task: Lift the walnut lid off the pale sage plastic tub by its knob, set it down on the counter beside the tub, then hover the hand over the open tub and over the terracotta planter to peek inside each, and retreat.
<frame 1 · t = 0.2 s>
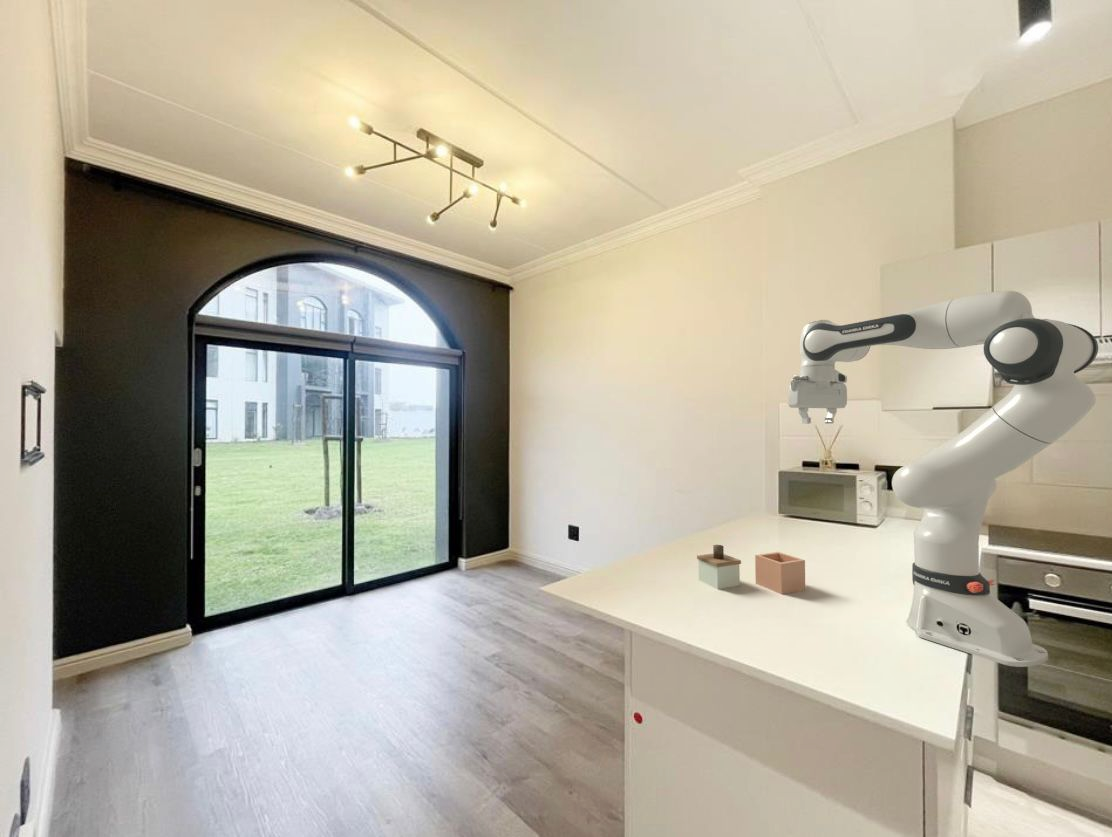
hand: (818, 423, 130), 47 cm above the countertop, fingers open, 8 cm apart
tub: (718, 585, 129), on the countertop
planter: (780, 589, 126), on the countertop
lid: (718, 561, 129), point 7 cm above the countertop, touching tub
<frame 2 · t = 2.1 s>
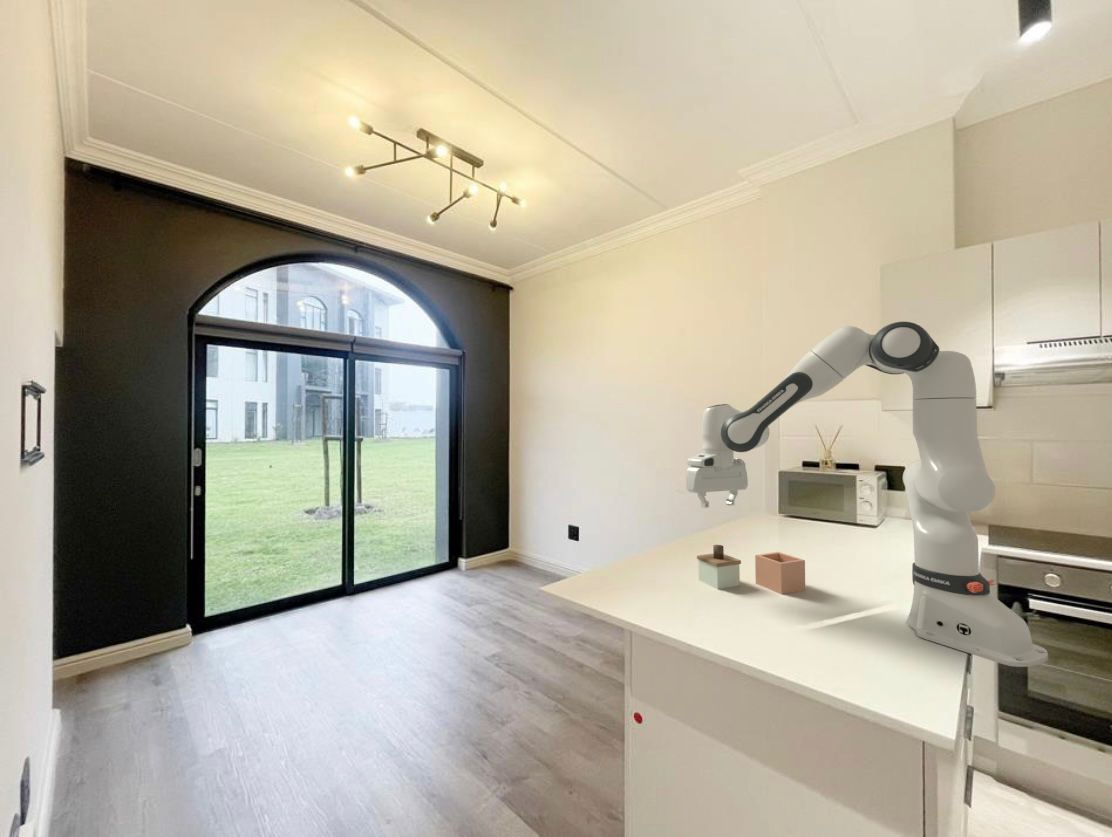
hand: (717, 506, 130), 23 cm above the countertop, fingers open, 8 cm apart
nothing on the countertop moved.
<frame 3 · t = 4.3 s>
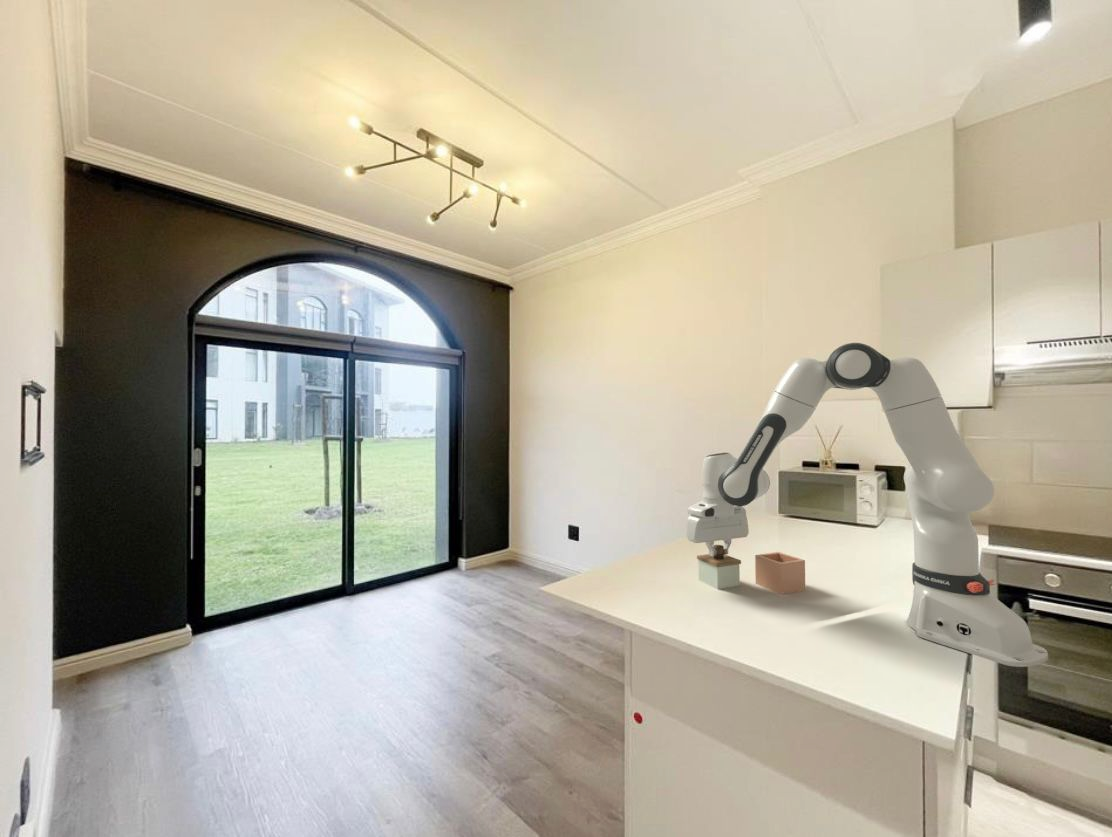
hand: (718, 554, 129), 9 cm above the countertop, fingers closed on lid, 3 cm apart
lid: (718, 561, 129), point 7 cm above the countertop, touching gripper, tub
everything else where it was.
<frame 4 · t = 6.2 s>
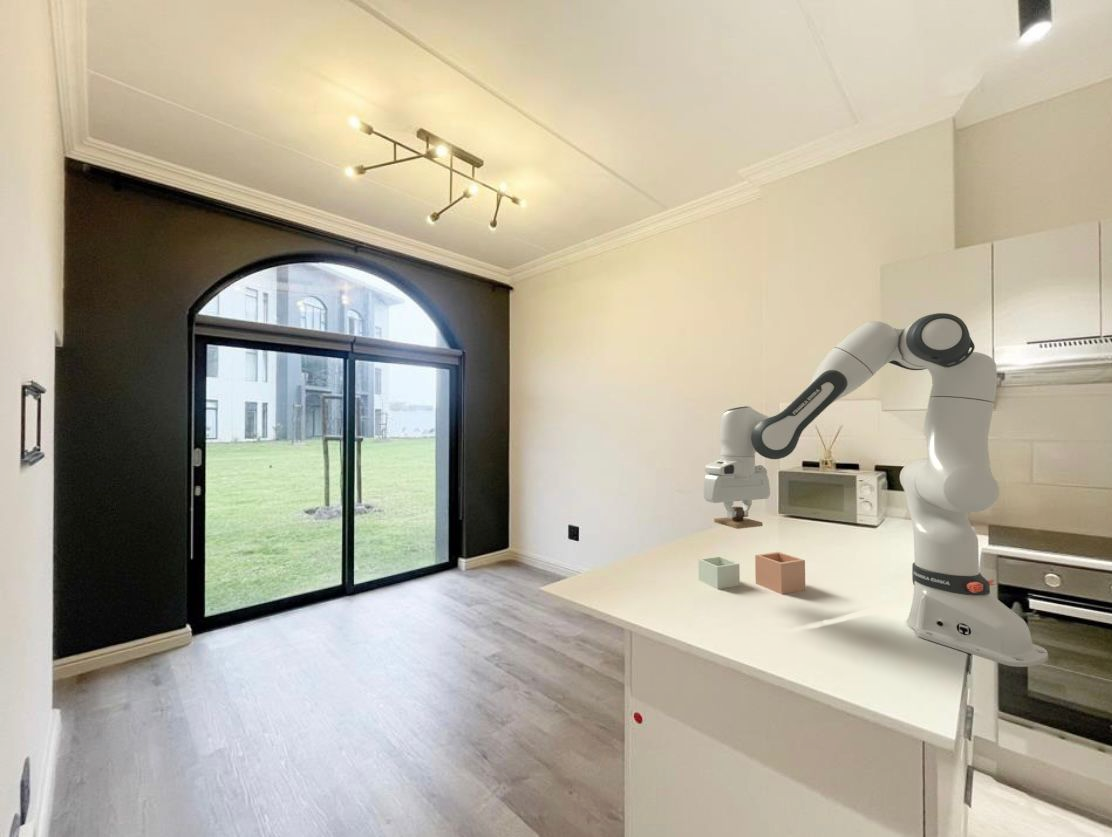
hand: (737, 517, 120), 22 cm above the countertop, fingers closed on lid, 3 cm apart
lid: (737, 524, 120), point 20 cm above the countertop, touching gripper
everything else where it was.
when the fingers open (5 cm above the countertop, at t = 8.4 s): lid drops 3 cm, on the countertop.
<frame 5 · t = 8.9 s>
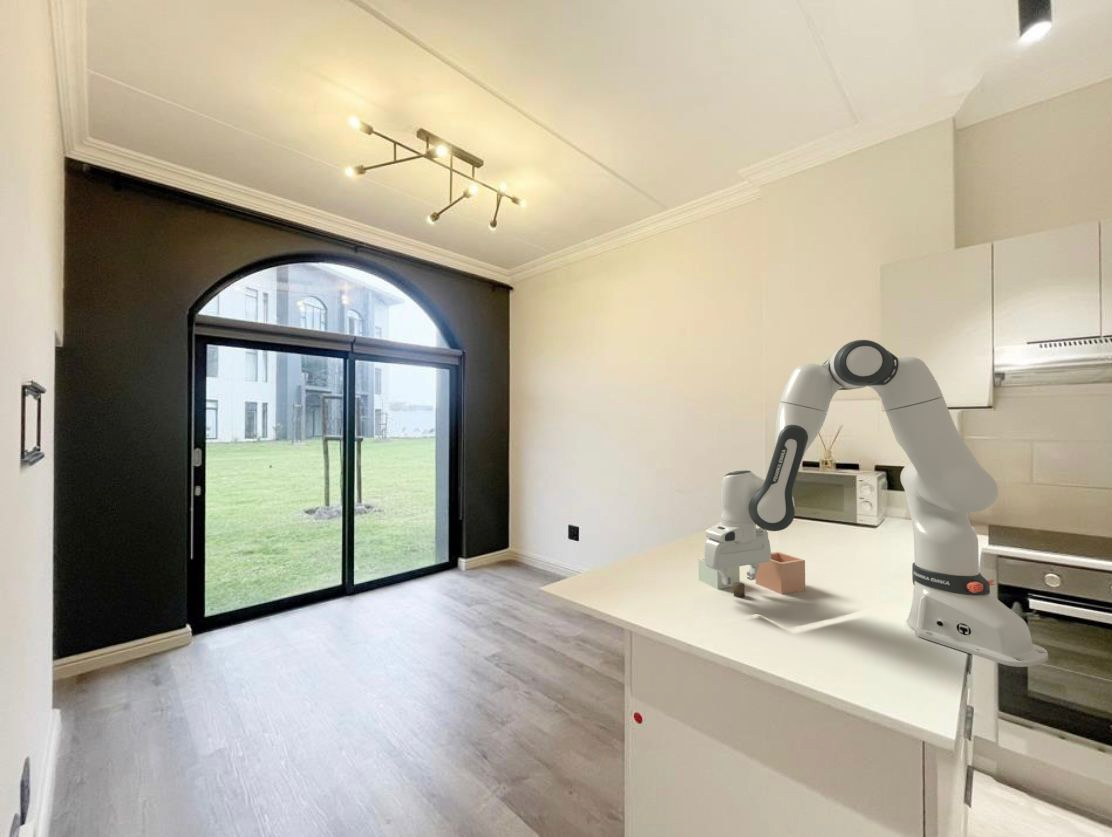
hand: (739, 581, 119), 5 cm above the countertop, fingers open, 7 cm apart
lid: (739, 600, 119), on the countertop
everything else where it was.
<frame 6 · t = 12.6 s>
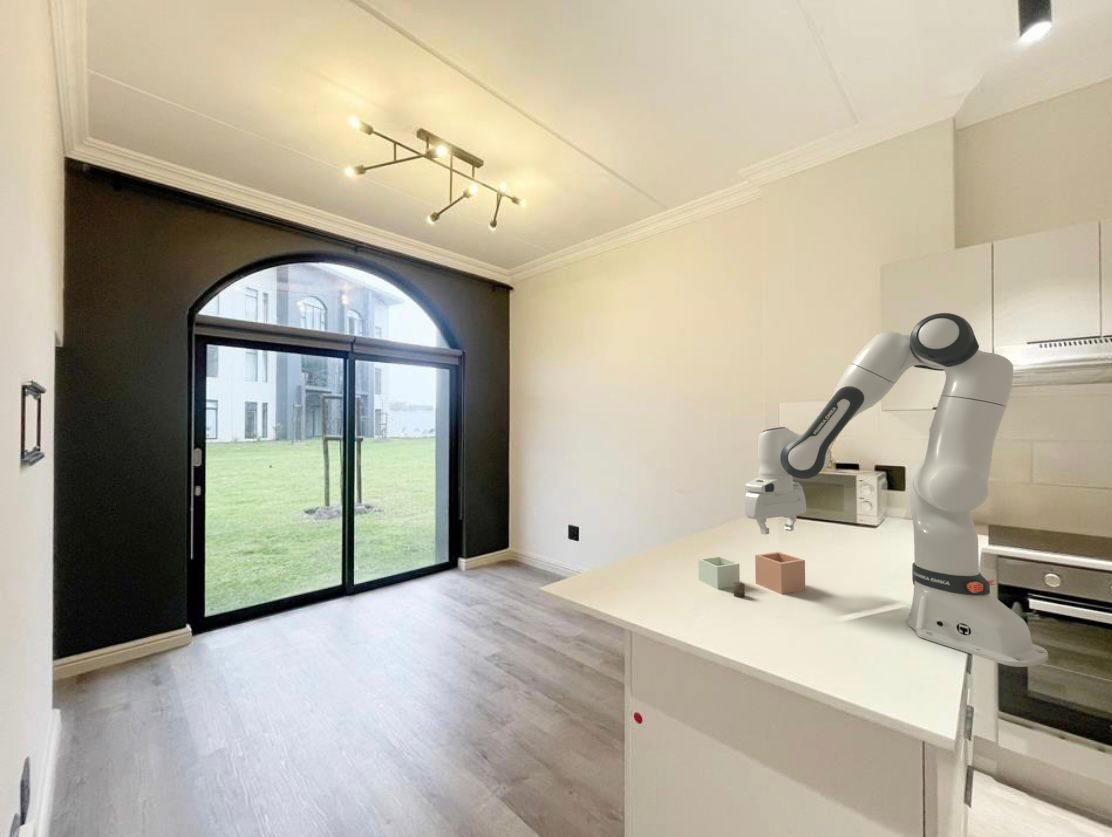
hand: (777, 532, 126), 16 cm above the countertop, fingers open, 8 cm apart
nothing on the countertop moved.
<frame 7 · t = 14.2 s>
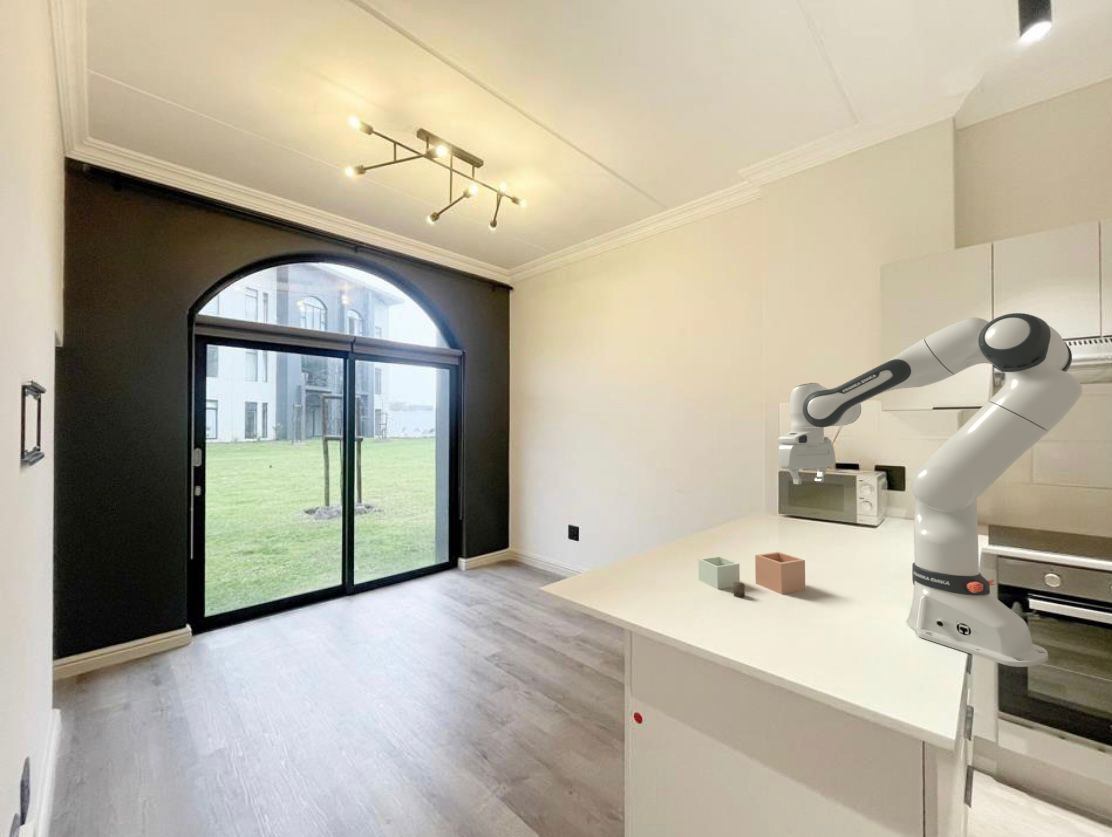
hand: (808, 483, 133), 29 cm above the countertop, fingers open, 8 cm apart
nothing on the countertop moved.
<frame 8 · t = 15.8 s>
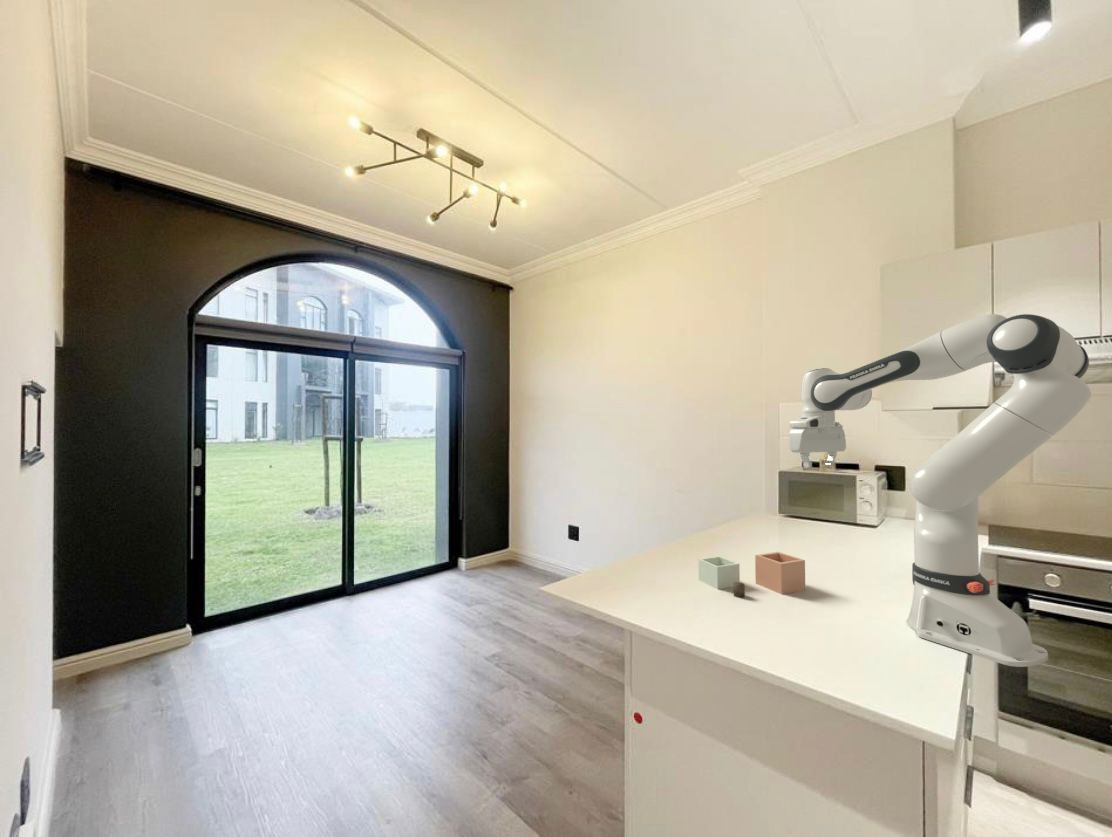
hand: (818, 466, 135), 34 cm above the countertop, fingers open, 8 cm apart
nothing on the countertop moved.
at the end: lid inside the target area (0.0 cm from its centre), on the countertop; lid touching countertop; the gripper is holding nothing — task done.
